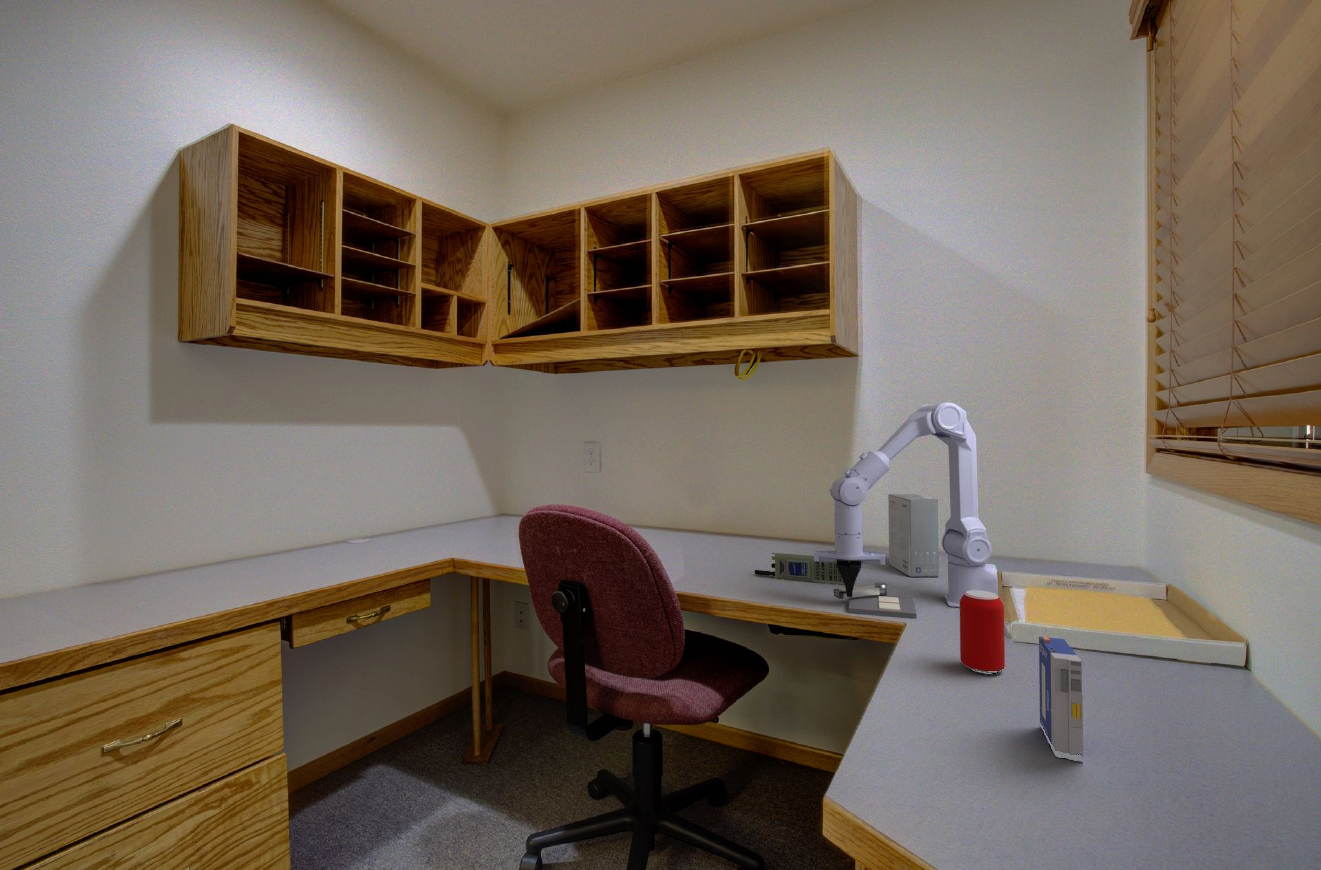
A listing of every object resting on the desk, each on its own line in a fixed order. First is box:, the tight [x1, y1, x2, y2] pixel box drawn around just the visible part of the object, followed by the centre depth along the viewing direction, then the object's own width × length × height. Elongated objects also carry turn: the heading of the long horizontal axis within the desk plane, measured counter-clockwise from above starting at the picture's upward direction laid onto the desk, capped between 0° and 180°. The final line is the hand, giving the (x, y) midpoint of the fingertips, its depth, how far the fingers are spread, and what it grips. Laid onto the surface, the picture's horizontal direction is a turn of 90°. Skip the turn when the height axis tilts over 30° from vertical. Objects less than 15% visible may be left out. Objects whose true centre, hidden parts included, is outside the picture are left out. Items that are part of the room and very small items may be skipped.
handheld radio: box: [754, 552, 850, 586], centre depth 152 cm, size 7×3×25 cm
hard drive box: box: [887, 493, 940, 578], centre depth 160 cm, size 16×8×20 cm, turn 179°
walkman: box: [1038, 636, 1084, 758], centre depth 72 cm, size 8×3×12 cm, turn 159°
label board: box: [848, 594, 918, 619], centre depth 128 cm, size 13×13×1 cm
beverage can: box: [959, 590, 1006, 674], centre depth 95 cm, size 6×6×12 cm
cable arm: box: [833, 581, 888, 600], centre depth 132 cm, size 3×12×2 cm, turn 104°
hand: (849, 595), depth 129 cm, fingers closed
